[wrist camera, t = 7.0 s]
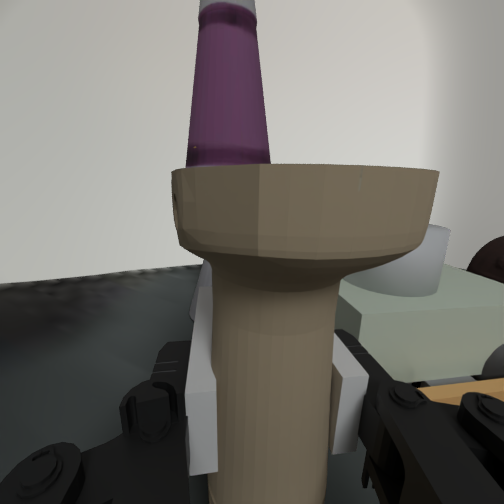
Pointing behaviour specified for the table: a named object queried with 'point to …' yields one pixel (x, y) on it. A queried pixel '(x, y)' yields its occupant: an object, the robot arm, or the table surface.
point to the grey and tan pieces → (429, 322)
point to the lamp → (226, 96)
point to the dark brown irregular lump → (489, 261)
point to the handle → (286, 303)
